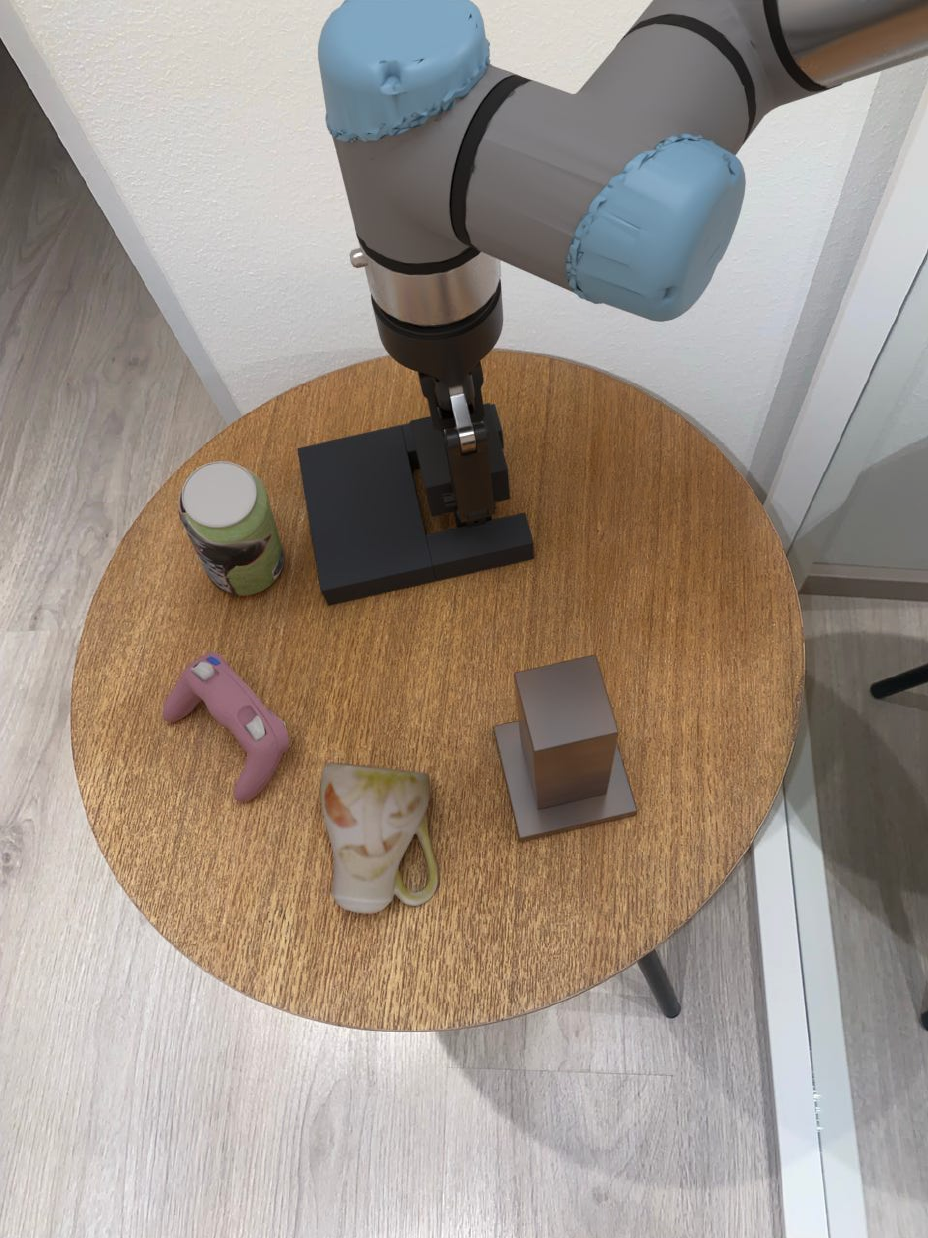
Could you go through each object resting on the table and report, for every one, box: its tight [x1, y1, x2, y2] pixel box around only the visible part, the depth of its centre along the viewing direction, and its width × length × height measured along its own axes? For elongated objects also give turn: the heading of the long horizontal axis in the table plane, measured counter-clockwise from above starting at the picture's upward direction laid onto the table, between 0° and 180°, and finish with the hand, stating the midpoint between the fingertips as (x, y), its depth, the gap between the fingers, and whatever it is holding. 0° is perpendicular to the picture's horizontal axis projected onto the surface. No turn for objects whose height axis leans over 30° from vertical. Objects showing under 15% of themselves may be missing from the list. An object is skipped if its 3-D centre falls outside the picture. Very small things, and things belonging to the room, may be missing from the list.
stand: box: [492, 654, 638, 842], centre depth 60 cm, size 8×8×14 cm
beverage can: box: [177, 460, 285, 596], centre depth 70 cm, size 6×7×12 cm
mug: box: [319, 762, 440, 914], centre depth 63 cm, size 8×10×10 cm
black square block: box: [409, 402, 511, 517], centre depth 71 cm, size 6×6×4 cm
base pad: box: [296, 403, 535, 606], centre depth 75 cm, size 16×13×2 cm
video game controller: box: [161, 650, 291, 804], centre depth 67 cm, size 10×5×7 cm, turn 44°
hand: (466, 496), depth 76 cm, fingers closed on black square block, 6 cm apart
